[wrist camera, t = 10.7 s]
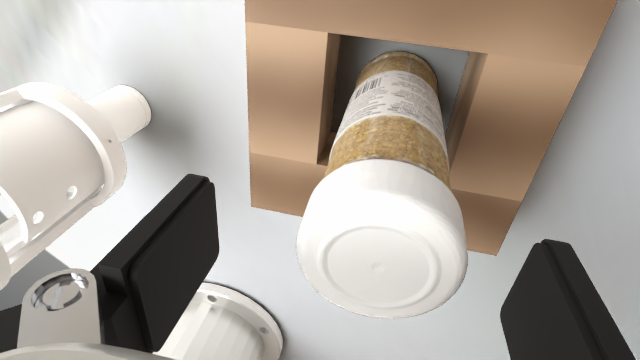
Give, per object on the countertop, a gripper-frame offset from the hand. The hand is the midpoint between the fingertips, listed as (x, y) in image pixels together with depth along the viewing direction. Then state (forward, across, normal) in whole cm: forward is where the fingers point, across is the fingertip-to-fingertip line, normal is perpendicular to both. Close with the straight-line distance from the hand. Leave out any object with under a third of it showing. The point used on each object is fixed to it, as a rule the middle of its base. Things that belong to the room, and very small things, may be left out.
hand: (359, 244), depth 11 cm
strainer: (+13, +16, +3) cm, 21 cm away
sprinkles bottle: (+12, -1, -1) cm, 12 cm away
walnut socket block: (+12, 0, -1) cm, 12 cm away
